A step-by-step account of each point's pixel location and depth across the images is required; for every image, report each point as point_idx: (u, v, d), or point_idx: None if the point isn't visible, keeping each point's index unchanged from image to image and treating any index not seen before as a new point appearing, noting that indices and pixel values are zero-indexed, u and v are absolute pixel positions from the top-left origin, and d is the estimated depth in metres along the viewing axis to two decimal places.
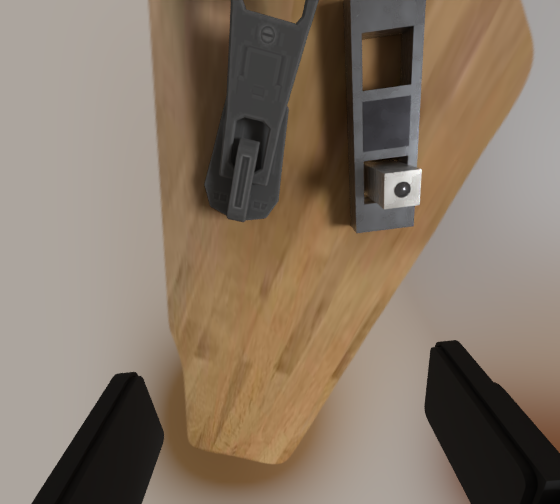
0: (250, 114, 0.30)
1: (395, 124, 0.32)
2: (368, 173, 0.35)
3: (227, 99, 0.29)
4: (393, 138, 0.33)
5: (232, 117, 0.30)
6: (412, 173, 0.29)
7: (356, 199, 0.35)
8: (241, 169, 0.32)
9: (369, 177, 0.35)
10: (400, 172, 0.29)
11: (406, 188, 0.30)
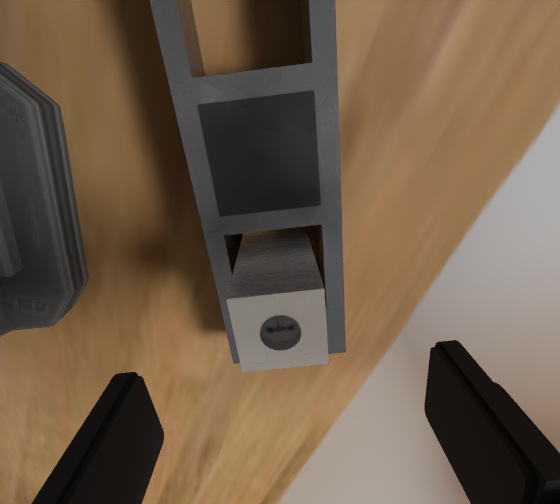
0: None
1: (284, 158, 0.14)
2: None
3: None
4: (284, 189, 0.14)
5: None
6: (301, 298, 0.11)
7: (222, 307, 0.17)
8: None
9: None
10: (269, 295, 0.11)
11: (289, 331, 0.12)
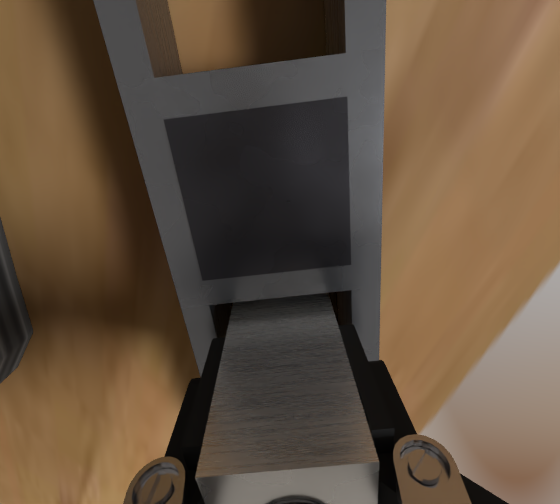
0: None
1: (299, 199, 0.09)
2: None
3: None
4: (297, 242, 0.10)
5: None
6: (334, 475, 0.06)
7: None
8: None
9: None
10: (274, 470, 0.06)
11: None
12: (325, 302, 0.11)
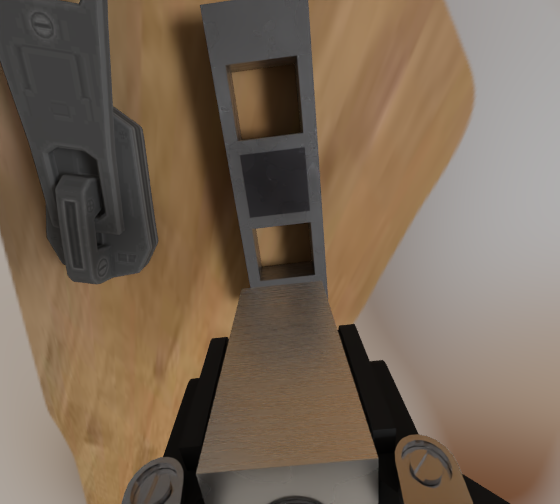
0: (62, 142, 0.21)
1: (288, 183, 0.24)
2: None
3: (23, 125, 0.21)
4: (288, 201, 0.24)
5: (38, 149, 0.21)
6: (334, 473, 0.06)
7: (249, 274, 0.27)
8: (67, 219, 0.23)
9: None
10: (274, 467, 0.06)
11: None
12: (325, 311, 0.11)
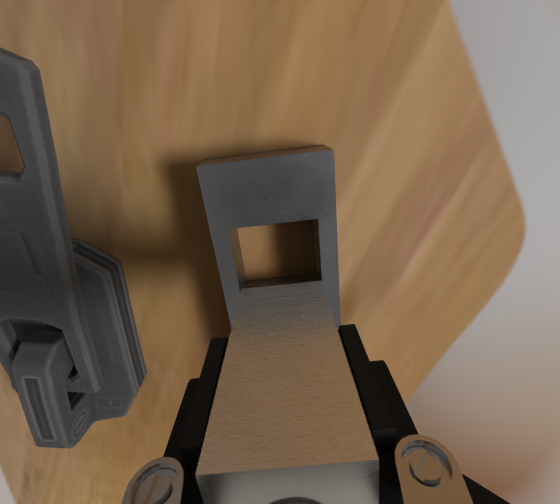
0: (16, 315, 0.17)
1: None
2: None
3: None
4: None
5: None
6: (334, 474, 0.06)
7: None
8: (30, 395, 0.18)
9: None
10: (274, 469, 0.06)
11: None
12: (326, 311, 0.11)
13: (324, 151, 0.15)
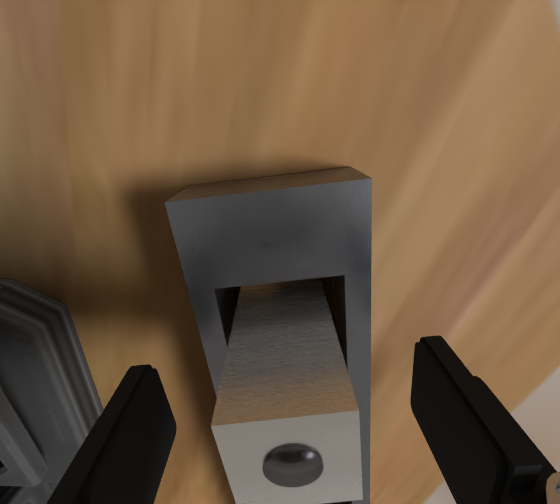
0: None
1: None
2: None
3: None
4: None
5: None
6: (323, 423, 0.07)
7: None
8: None
9: None
10: (275, 420, 0.07)
11: (306, 465, 0.08)
12: (319, 293, 0.12)
13: (357, 180, 0.10)
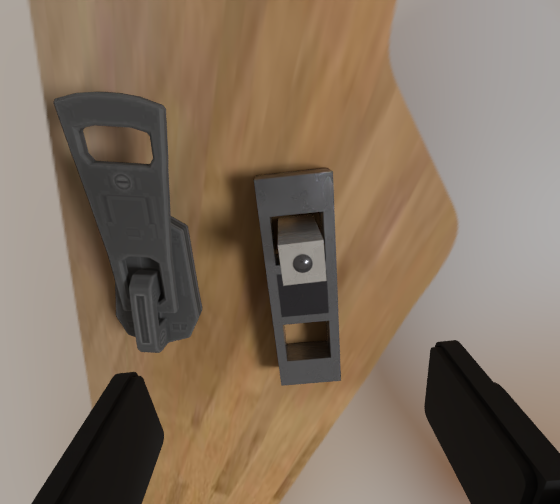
0: (133, 254, 0.27)
1: (312, 294, 0.31)
2: None
3: (104, 244, 0.27)
4: (311, 306, 0.31)
5: (115, 259, 0.28)
6: (312, 245, 0.24)
7: (278, 356, 0.34)
8: (138, 308, 0.29)
9: None
10: (297, 243, 0.24)
11: (307, 262, 0.24)
12: (313, 221, 0.28)
13: (327, 172, 0.26)
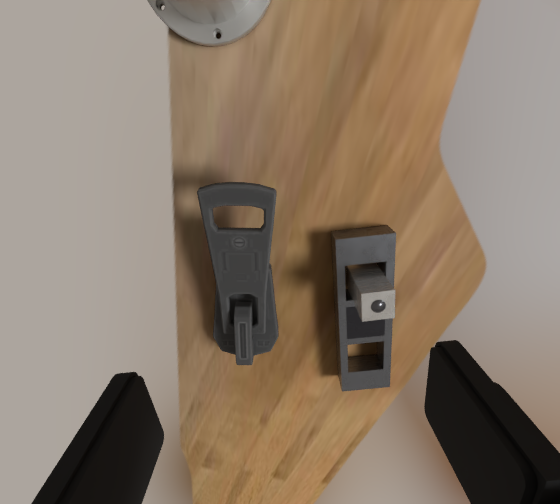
0: (239, 292, 0.35)
1: (373, 321, 0.39)
2: (349, 276, 0.37)
3: (217, 286, 0.35)
4: (371, 330, 0.40)
5: (224, 296, 0.36)
6: (386, 293, 0.32)
7: (341, 369, 0.43)
8: (240, 332, 0.37)
9: (350, 281, 0.37)
10: (375, 292, 0.32)
11: (381, 305, 0.33)
12: (377, 267, 0.37)
13: (391, 233, 0.35)
